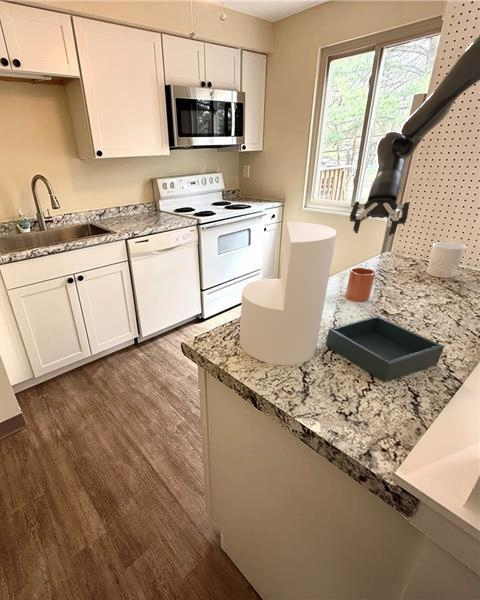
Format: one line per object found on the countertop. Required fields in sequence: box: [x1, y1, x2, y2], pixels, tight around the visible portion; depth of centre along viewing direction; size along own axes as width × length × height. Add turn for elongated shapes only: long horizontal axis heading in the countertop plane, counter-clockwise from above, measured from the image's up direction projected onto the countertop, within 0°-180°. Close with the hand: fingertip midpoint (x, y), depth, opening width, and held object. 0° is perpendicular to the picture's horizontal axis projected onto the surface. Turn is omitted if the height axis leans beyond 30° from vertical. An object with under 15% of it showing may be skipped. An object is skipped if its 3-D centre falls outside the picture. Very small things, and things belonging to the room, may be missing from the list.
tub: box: [325, 315, 445, 383], centre depth 68 cm, size 14×14×5 cm
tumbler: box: [344, 267, 376, 303], centre depth 92 cm, size 6×6×8 cm
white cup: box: [426, 241, 468, 279], centre depth 101 cm, size 8×8×10 cm
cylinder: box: [239, 221, 338, 366], centre depth 70 cm, size 17×17×28 cm
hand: (373, 233), depth 94 cm, fingers open, 8 cm apart
